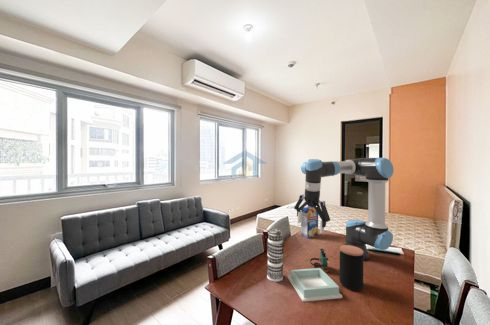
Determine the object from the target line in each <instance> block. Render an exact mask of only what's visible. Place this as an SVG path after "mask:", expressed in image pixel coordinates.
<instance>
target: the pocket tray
mask: <svg viewBox="0 0 490 325" xmlns="http://www.w3.org/2000/svg"><path fill="white" fill-rule="evenodd" d="M289 272H290V273H289V275H287V279H288V281H289V282H290V283H291V286H292V287H293V288H294V290H295V292H296V293H297V295H298V296H299V298H300V300H301V301H302V302H305V303H306V302H315V301H324V300H333V299H334V300H335V299H342V298H343V295H342V294H341V293H340V286H339V285H338V284H337V283H336V282H335V281H334V280H333V279H332V278H331V277H330V276H328V274H327V272H324V271H323V270H322V267H321V268H315V267H314V268H302V269H301V268H300V269H291V270H290V271H289Z"/></svg>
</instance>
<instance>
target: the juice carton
mask: <svg viewBox="0 0 490 325" xmlns="http://www.w3.org/2000/svg"><path fill="white" fill-rule="evenodd" d="M300 211H302V222H300V224H301V225H300V236H302V237H303V236H304V237H303V238H306V239H310V238H311V237H312V238H315V237H318V236H319V215H318V213H317V211H316V210H315V209H314V207H311V206H308V205H306V206H305V207H304V208H303V209H302V210H300Z"/></svg>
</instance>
